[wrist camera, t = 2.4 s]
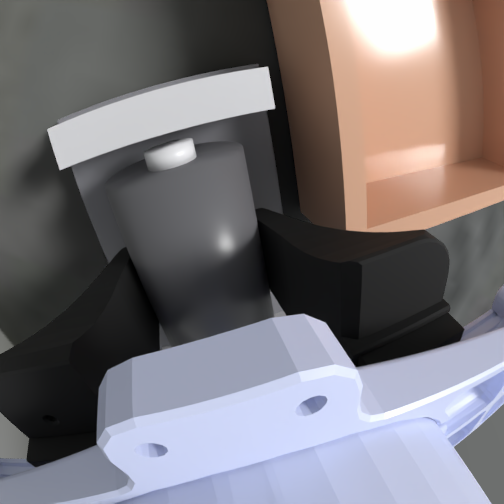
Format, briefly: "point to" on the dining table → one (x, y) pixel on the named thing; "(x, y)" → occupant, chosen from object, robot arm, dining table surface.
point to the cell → (194, 237)
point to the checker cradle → (169, 139)
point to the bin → (393, 108)
